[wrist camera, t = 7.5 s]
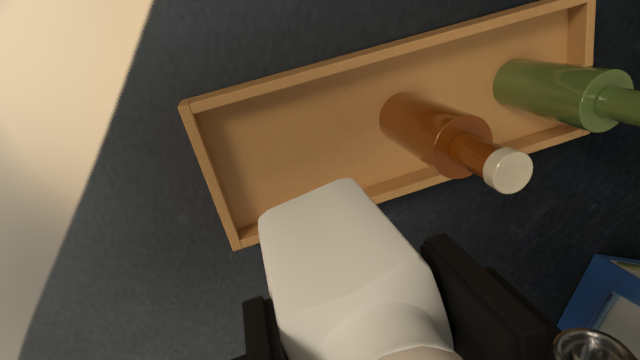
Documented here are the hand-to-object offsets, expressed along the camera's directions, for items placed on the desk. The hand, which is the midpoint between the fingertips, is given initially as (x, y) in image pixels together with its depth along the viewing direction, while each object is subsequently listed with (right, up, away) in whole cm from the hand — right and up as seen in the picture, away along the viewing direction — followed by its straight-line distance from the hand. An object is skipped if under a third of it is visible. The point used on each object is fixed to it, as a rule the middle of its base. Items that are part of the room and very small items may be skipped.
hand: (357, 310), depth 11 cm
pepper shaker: (-1, +2, +4) cm, 5 cm away
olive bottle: (+12, +10, +15) cm, 22 cm away
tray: (+4, +8, +15) cm, 17 cm away
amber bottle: (+4, +8, +14) cm, 17 cm away
